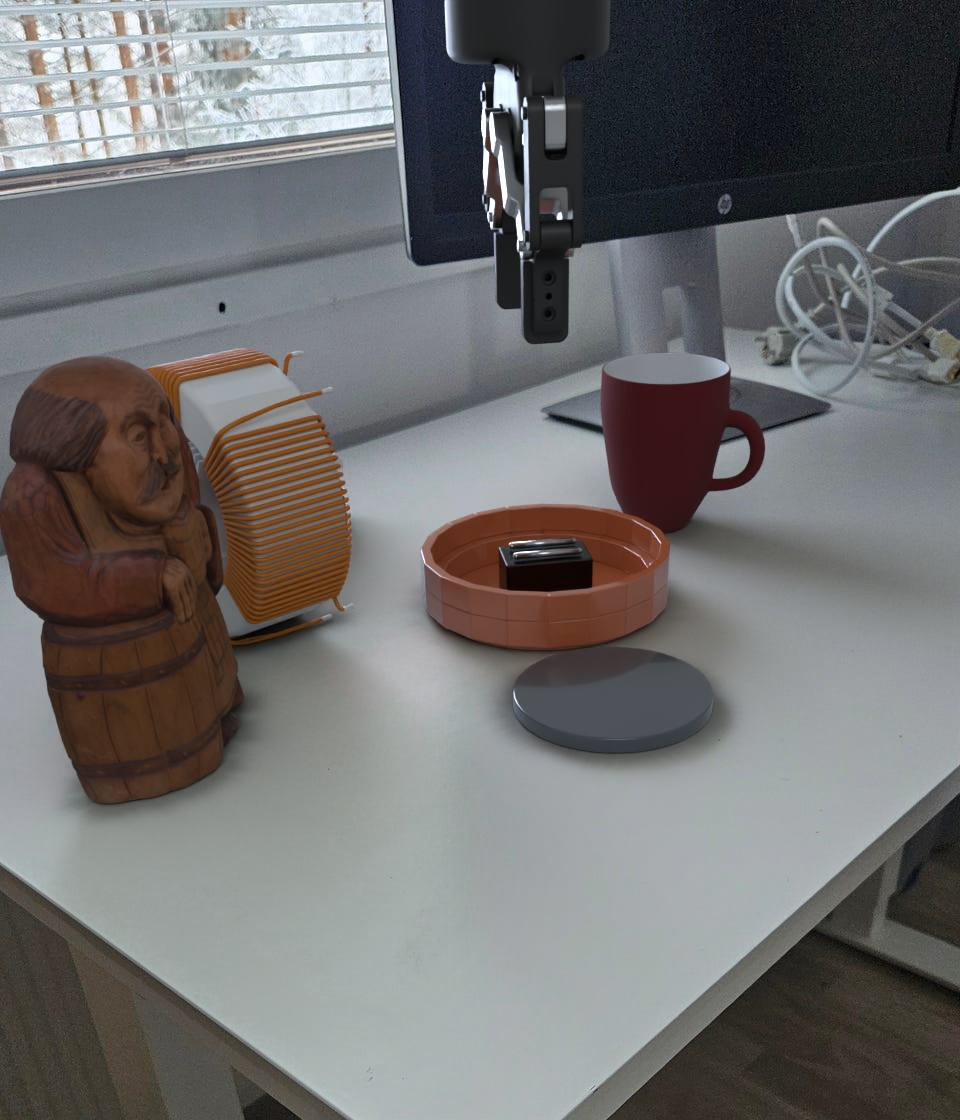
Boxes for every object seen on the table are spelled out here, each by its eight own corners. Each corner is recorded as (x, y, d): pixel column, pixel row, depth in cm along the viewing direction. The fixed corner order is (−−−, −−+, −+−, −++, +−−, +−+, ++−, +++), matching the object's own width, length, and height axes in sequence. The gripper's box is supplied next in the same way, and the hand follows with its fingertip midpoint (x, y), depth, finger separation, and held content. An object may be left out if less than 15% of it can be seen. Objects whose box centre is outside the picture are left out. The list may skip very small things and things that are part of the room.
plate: (681, 651, 67) (682, 638, 66) (738, 742, 59) (740, 727, 58) (498, 669, 66) (498, 655, 65) (531, 763, 58) (531, 748, 57)
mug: (754, 504, 85) (768, 352, 80) (759, 547, 79) (776, 384, 73) (601, 501, 87) (604, 352, 81) (594, 543, 80) (597, 384, 74)
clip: (581, 581, 74) (582, 532, 72) (592, 601, 71) (593, 550, 70) (499, 588, 73) (498, 539, 72) (507, 608, 71) (506, 558, 69)
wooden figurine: (195, 815, 55) (112, 399, 45) (58, 809, 56) (-54, 399, 45) (265, 692, 65) (210, 325, 54) (148, 688, 65) (72, 327, 55)
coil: (274, 683, 65) (233, 393, 57) (140, 601, 75) (88, 343, 66) (379, 643, 69) (355, 365, 60) (238, 570, 78) (201, 321, 70)
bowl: (633, 549, 79) (636, 495, 77) (696, 642, 68) (700, 582, 66) (413, 568, 78) (410, 513, 76) (439, 666, 66) (435, 606, 64)
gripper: (650, -78, 49) (633, 351, 58) (577, -63, 61) (573, 293, 70) (463, -72, 48) (477, 361, 58) (425, -58, 60) (442, 301, 69)
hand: (529, 323), depth 64 cm, fingers open, 8 cm apart
